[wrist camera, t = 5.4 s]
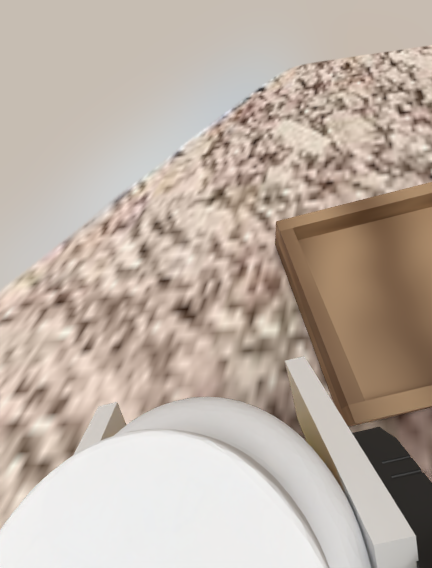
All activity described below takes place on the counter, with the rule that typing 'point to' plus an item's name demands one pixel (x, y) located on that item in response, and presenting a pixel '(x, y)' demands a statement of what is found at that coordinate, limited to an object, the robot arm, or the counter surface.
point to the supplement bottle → (189, 498)
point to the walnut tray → (367, 299)
